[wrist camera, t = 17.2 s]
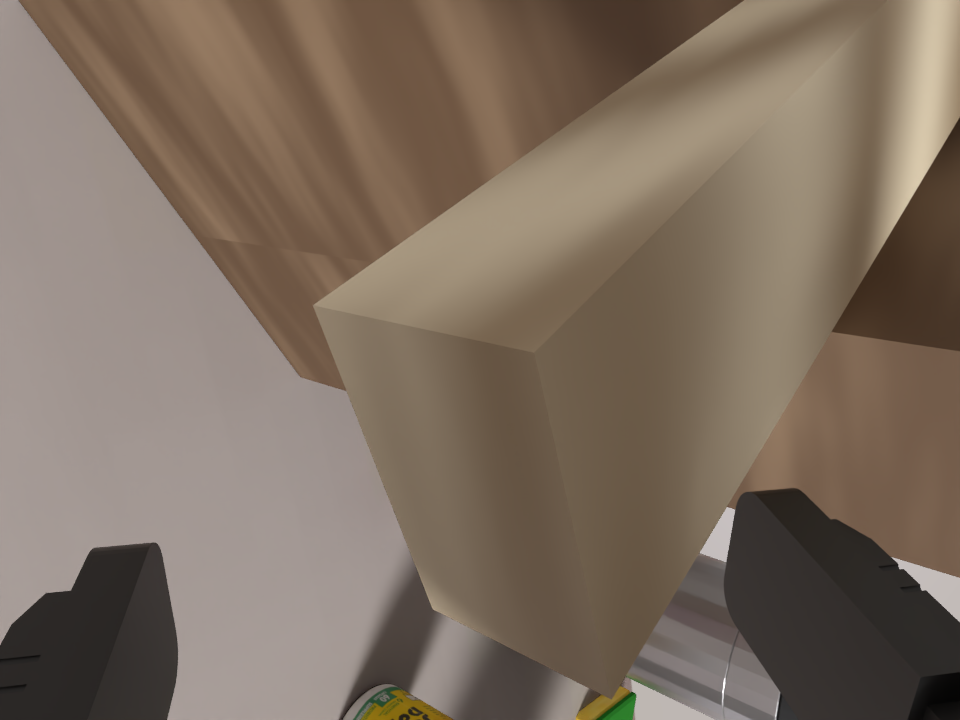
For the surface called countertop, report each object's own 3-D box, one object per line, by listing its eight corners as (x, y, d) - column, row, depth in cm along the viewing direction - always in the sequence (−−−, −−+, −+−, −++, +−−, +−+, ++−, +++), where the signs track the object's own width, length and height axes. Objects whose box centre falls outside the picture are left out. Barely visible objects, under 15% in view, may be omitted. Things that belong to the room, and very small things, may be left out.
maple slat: (433, 608, 8) (611, 698, 6) (312, 304, 6) (534, 353, 5) (973, -35, 23) (1055, -44, 22) (989, -173, 21) (1079, -191, 20)
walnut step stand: (300, 376, 34) (1362, 700, 15) (18, -1, 23) (2755, -650, 4) (478, 172, 41) (1358, 213, 22) (327, -193, 30) (1843, -763, 11)
